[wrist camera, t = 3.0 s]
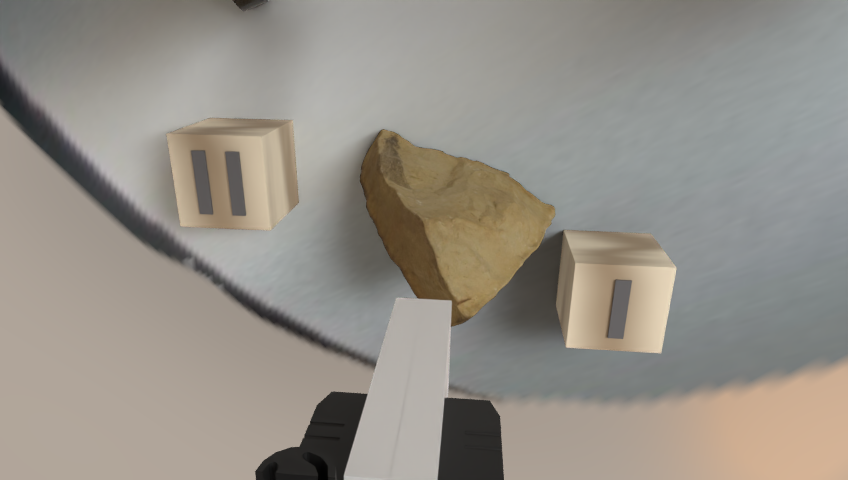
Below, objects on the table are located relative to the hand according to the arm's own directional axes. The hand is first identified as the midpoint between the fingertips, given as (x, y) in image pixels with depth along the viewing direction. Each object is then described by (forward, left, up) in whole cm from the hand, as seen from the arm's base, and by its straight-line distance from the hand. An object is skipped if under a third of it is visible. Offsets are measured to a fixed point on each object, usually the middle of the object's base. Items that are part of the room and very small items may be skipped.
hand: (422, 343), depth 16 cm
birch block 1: (+12, 0, -19) cm, 23 cm away
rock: (0, +1, -19) cm, 19 cm away
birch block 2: (-9, +6, -19) cm, 22 cm away
